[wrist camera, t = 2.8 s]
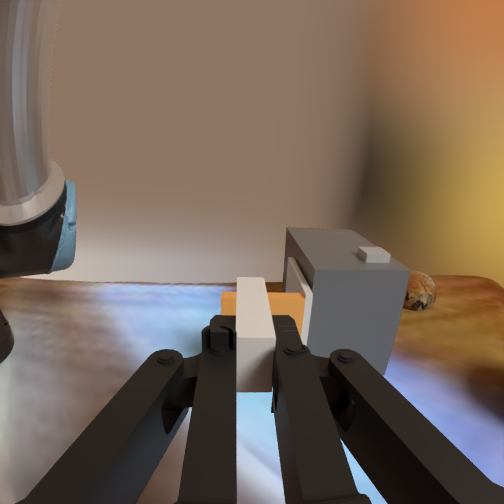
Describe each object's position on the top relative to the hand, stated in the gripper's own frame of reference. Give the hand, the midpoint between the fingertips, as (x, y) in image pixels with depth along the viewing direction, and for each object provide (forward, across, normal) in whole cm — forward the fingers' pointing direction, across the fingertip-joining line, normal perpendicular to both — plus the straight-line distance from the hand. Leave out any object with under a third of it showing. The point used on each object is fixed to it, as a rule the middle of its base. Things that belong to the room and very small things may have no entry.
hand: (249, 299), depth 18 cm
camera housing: (+22, +13, -16) cm, 30 cm away
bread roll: (+34, +34, -16) cm, 51 cm away
